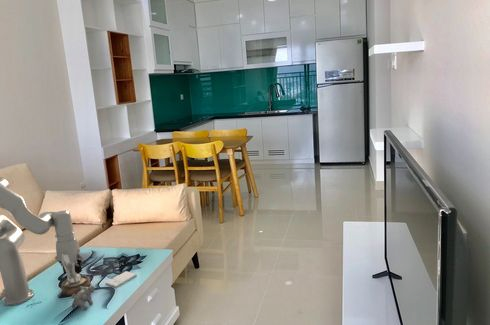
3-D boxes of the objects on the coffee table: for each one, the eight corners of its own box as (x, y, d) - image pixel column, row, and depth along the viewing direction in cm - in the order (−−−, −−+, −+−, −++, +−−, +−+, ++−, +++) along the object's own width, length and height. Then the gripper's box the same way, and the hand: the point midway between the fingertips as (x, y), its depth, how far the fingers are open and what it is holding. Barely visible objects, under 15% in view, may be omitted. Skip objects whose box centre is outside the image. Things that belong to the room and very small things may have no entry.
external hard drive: (136, 277, 200) (116, 289, 190) (126, 273, 204) (105, 285, 194) (136, 274, 199) (115, 285, 189) (125, 270, 204) (105, 282, 194)
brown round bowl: (56, 295, 189) (54, 287, 188) (73, 280, 201) (72, 274, 200) (79, 296, 186) (78, 288, 185) (96, 281, 198) (95, 274, 197)
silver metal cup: (76, 284, 188) (70, 254, 185) (63, 284, 190) (57, 254, 187) (85, 276, 195) (79, 248, 192) (72, 276, 196) (66, 248, 193)
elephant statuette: (69, 313, 173) (65, 297, 171) (80, 296, 185) (77, 281, 182) (90, 311, 173) (87, 295, 171) (100, 295, 184) (97, 280, 182)
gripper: (44, 240, 186) (52, 275, 190) (76, 240, 182) (83, 276, 186) (55, 233, 193) (62, 268, 197) (86, 234, 189) (93, 269, 193)
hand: (72, 272), depth 191 cm, fingers closed on silver metal cup, 6 cm apart
